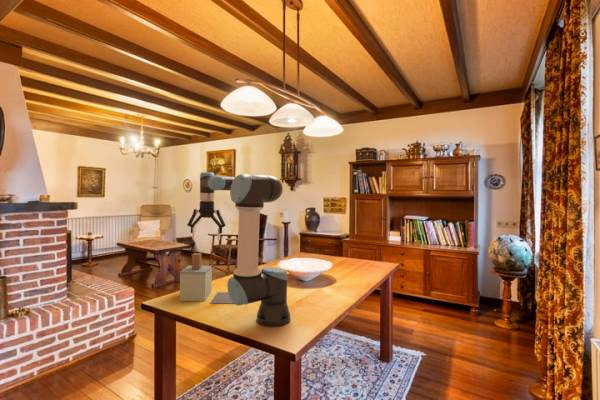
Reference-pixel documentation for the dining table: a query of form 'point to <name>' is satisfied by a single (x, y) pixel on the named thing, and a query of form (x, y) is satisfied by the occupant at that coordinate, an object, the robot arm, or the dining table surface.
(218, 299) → the mat
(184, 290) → the box
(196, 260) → the lid
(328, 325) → the dining table surface
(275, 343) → the dining table surface
